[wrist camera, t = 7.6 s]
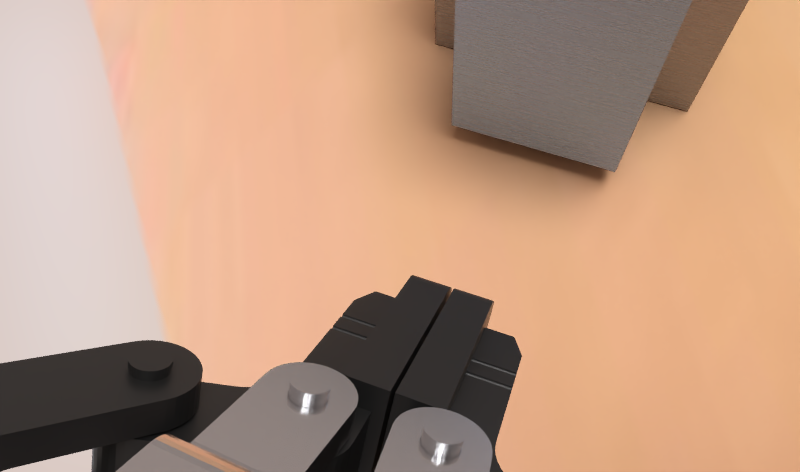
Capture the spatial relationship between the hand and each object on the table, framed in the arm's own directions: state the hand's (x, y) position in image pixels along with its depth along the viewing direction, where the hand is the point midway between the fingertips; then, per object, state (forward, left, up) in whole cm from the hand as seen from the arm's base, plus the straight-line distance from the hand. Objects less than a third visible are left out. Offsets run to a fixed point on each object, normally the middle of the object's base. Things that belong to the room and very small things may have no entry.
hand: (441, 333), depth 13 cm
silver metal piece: (-9, -16, -11) cm, 21 cm away
